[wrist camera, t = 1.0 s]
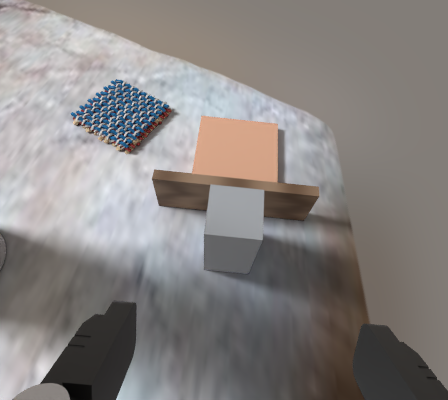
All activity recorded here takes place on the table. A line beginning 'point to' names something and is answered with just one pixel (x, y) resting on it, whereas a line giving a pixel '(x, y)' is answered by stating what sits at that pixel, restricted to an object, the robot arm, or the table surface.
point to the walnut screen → (200, 186)
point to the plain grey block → (233, 228)
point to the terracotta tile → (237, 149)
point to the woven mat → (122, 115)
